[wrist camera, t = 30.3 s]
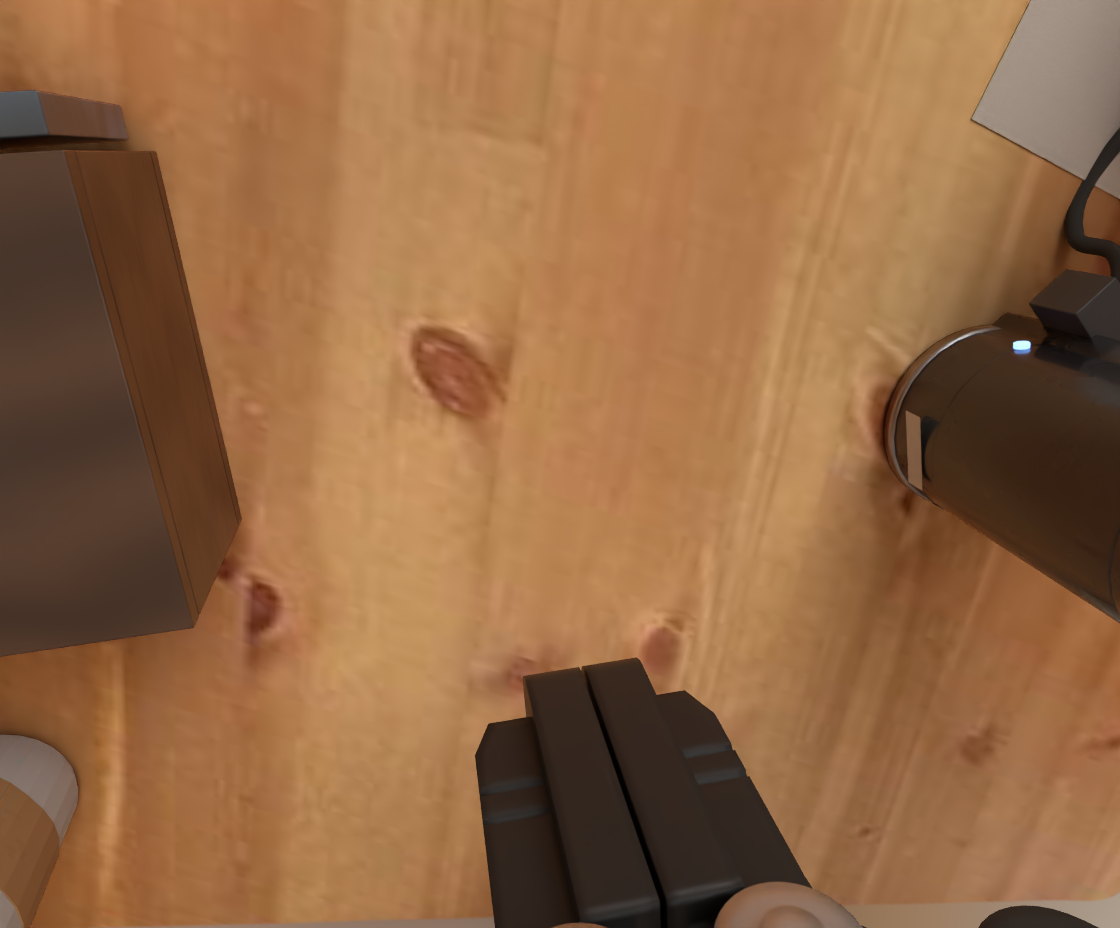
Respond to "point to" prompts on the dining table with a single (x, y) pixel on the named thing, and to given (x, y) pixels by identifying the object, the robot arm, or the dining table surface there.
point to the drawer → (57, 120)
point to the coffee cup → (31, 823)
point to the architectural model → (1061, 85)
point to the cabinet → (101, 409)
